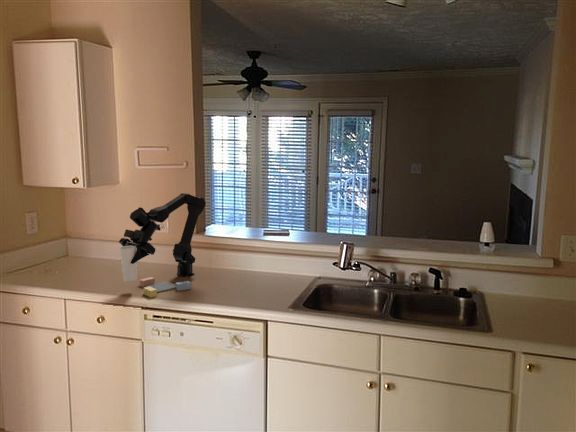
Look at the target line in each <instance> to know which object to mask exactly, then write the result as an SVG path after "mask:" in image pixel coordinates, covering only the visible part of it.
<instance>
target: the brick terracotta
mask: <svg viewBox="0 0 576 432" xmlns="http://www.w3.org/2000/svg"><path fill="white" fill-rule="evenodd" d="M151 284H156V280H155V277H152V276H150V277H145V278H141V279H139V286H140V287H142V288H145V286H147V285H151Z"/></svg>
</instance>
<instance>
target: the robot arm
mask: <svg viewBox="0 0 576 432" xmlns="http://www.w3.org/2000/svg"><path fill="white" fill-rule="evenodd" d="M185 204H186V205H187V206H186V208H187V213H188V214H187V217H186V221H185V223H184V224H185V225H184V227H183V232H182V234H181V238H180V241H179V242H178V243H175V244H174V246H173V249H172V256H173V258H174V261H175V263H177V266H176V268H177V272H176V275H177V276H181V277H184V278H185V277H189V276H193V275H195V272H193V264H194V263H196V257H195V256H194V255H193V254H192V251H193V249H192V245H191V242H192V240H193V236H194V233H195V229H196V225H197V222H198V218H199V216H200V215H201V214H202V213H203V212H204V209H205V207H206V201H205V199H204V198H203V197H199V196H195V195H193V194H190V193H186V192H185V193H184V192H182V193H180V194H179V195H177V196H176V197H175V198H172V200H171V199H170V201H168V202H167V203H165V204H162V205H160V206H156V207H154V208H151V209H150V210H149V212H147V211H146V210H145V209H144V208H143V207H138V208H137V209H135V210H134V211H132V212H131V213H130V215H129V219H130V220H131V221H132V222H133V223H134V224H135V225H136V226H138V227H140V229H134V230H132V229H131V230H130V229H125V231H124V234H123V237H122V238H120V239H119V240H118V243H119V244H120V245H121V247H123V246H136V249H137V252H136V253H135V255H134V257H133V259H132V261H131V264H134V263H135V262H137V263H138V261H140V260H141V259H143V258H145V257H147V256H149V255H155V253H156V247H155V246H154V245H152V244H151V243H150V242H149V241H152V240H153V238H152V236H153V234H154V233H155V232H156V231H159V232H160V231H161V230H162V229H161V225H160V224H157V223H164V222H165V221H166V220H167V219H168V218H169V217H170V214H171V213H173V212H175V211H176V210H177V209H179V208H181V207H182V206H183V205H185Z"/></svg>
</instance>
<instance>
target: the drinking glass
mask: <svg viewBox="0 0 576 432" xmlns="http://www.w3.org/2000/svg"><path fill="white" fill-rule="evenodd" d="M119 248H120V249H119V254H120V262H121V269H122V277H123V281H124V283H133V282H136V281H137V272H138V271H137V269H138V267H137V265H138V261H137V262H135V263H134V264H131V261H132V259H133V257H134V255H135V253H136V252H137V248H136V246H121V247H119Z"/></svg>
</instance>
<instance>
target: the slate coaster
mask: <svg viewBox="0 0 576 432" xmlns="http://www.w3.org/2000/svg"><path fill="white" fill-rule="evenodd" d="M149 286H150V287H152V288H154V289H157V294H159V293H162V292H168V291H171V290H176V283H172V282H170V281H167V280H165V281H162V282H155V284H151V285H147V286H145V287H149ZM145 287H144V288H145Z"/></svg>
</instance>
